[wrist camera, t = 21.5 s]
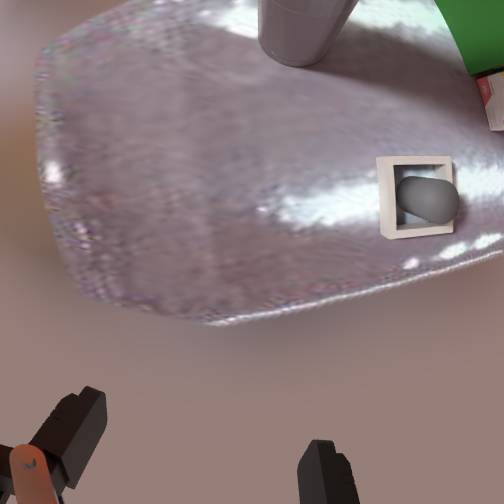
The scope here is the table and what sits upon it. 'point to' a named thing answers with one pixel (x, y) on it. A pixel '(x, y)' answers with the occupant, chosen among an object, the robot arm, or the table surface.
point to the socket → (388, 196)
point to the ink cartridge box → (493, 99)
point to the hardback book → (477, 32)
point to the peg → (428, 198)
